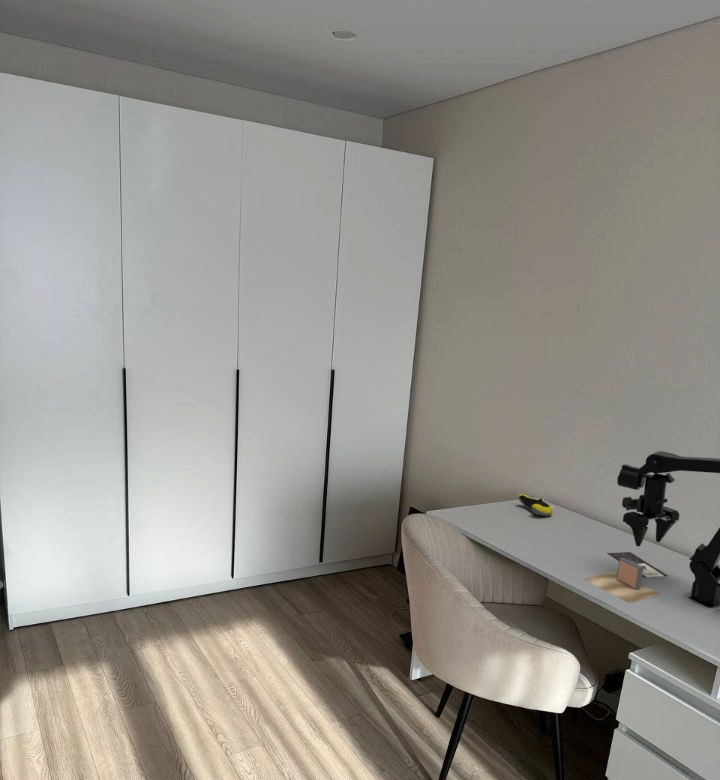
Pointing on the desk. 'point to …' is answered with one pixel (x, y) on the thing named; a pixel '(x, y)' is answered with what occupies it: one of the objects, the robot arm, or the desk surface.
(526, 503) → the black and yellow shoe
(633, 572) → the tile
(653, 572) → the chocolate bar
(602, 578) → the mat
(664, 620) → the desk surface
